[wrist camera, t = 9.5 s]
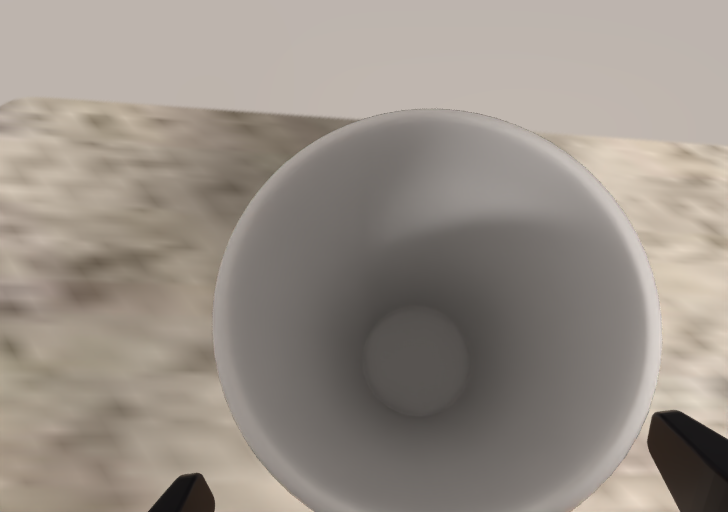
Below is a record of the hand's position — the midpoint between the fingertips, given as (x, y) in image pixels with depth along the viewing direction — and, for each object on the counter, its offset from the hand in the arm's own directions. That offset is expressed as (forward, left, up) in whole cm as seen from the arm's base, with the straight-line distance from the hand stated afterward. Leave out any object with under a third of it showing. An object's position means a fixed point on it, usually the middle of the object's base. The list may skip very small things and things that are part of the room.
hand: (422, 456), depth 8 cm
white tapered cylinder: (+1, -2, -12) cm, 12 cm away
